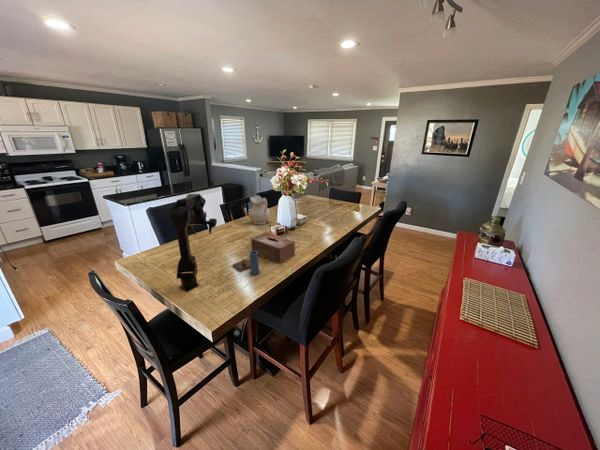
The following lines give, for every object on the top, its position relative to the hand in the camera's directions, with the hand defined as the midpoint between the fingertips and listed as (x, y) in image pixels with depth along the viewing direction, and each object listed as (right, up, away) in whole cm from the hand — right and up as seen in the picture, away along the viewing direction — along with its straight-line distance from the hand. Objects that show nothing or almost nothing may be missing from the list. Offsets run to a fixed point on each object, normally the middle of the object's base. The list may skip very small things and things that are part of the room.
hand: (203, 234), depth 151 cm
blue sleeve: (+36, -22, -14) cm, 44 cm away
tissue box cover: (+44, -13, +9) cm, 47 cm away
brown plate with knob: (+28, -19, -7) cm, 34 cm away
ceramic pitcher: (+26, +8, +68) cm, 73 cm away
